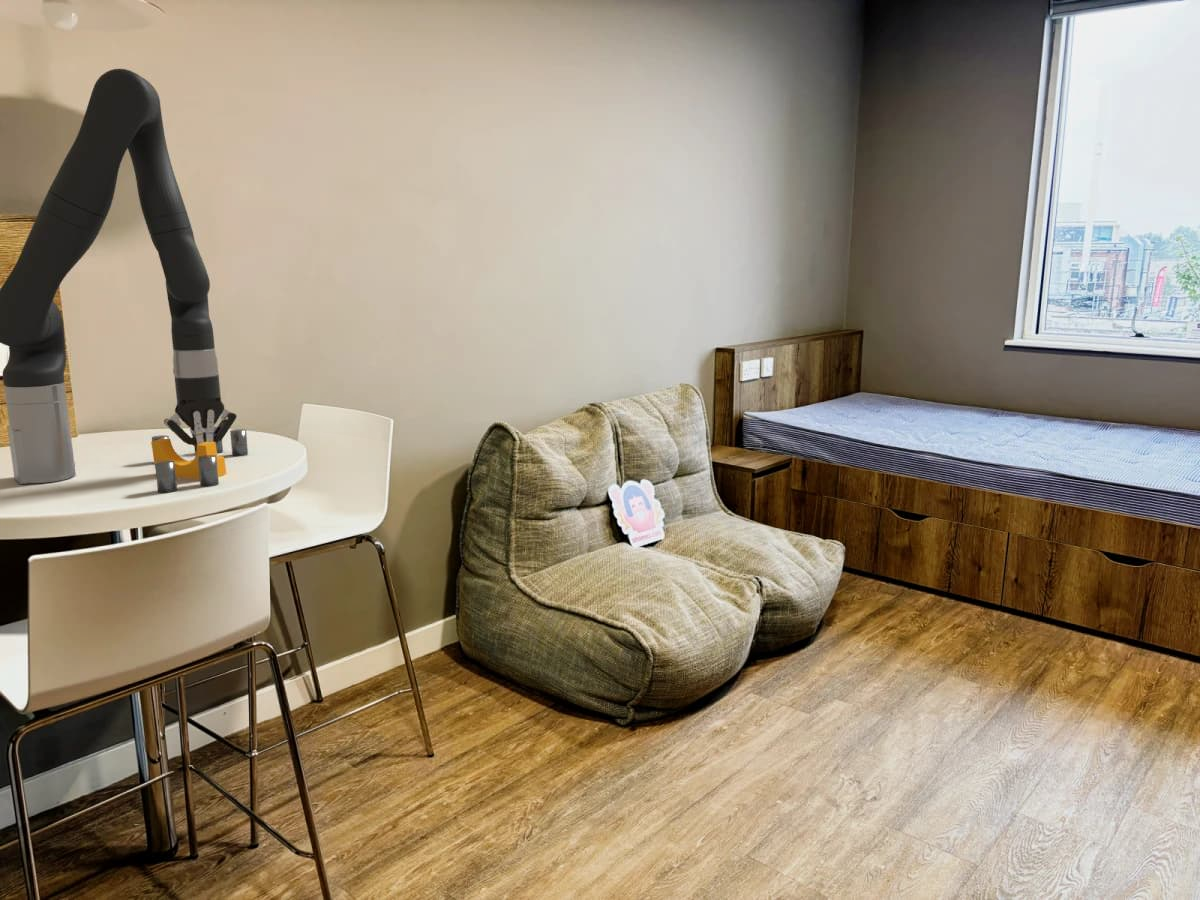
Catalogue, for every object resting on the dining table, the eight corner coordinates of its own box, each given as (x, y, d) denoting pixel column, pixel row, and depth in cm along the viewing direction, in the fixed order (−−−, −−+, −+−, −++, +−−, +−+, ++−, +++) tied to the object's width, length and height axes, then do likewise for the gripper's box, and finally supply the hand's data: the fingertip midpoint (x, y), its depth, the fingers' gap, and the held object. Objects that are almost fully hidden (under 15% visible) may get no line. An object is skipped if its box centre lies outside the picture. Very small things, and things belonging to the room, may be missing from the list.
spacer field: (160, 493, 153) (157, 465, 152) (114, 463, 176) (112, 438, 175) (293, 473, 168) (291, 447, 167) (234, 448, 191) (232, 424, 190)
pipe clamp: (226, 473, 167) (222, 439, 165) (210, 480, 163) (205, 445, 161) (173, 469, 171) (168, 436, 169) (156, 475, 167) (151, 441, 165)
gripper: (164, 378, 160) (174, 473, 163) (239, 372, 168) (247, 463, 172) (152, 374, 165) (162, 466, 169) (225, 368, 174) (233, 456, 177)
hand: (205, 464), depth 170 cm, fingers closed
